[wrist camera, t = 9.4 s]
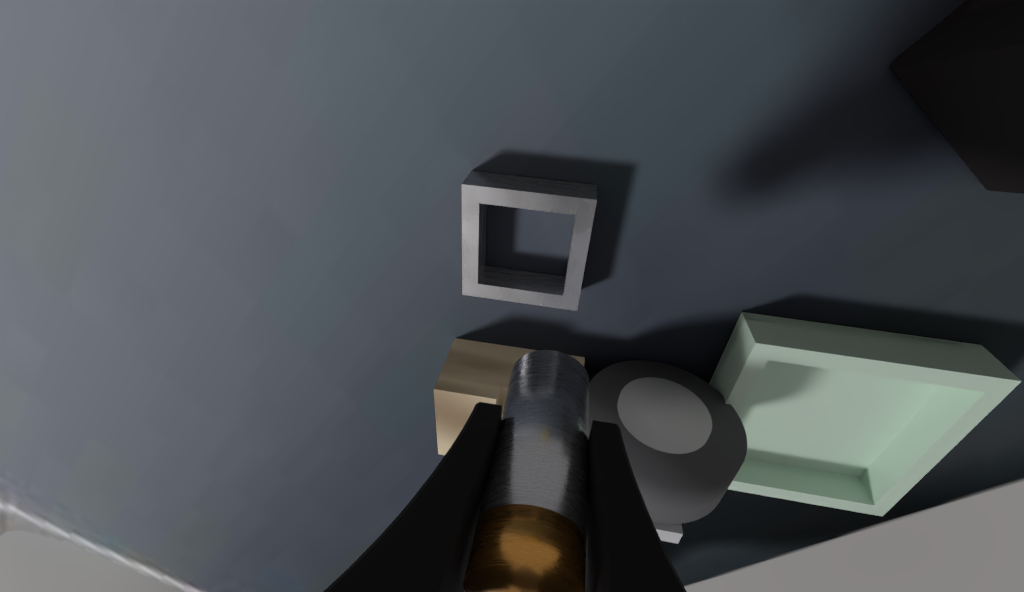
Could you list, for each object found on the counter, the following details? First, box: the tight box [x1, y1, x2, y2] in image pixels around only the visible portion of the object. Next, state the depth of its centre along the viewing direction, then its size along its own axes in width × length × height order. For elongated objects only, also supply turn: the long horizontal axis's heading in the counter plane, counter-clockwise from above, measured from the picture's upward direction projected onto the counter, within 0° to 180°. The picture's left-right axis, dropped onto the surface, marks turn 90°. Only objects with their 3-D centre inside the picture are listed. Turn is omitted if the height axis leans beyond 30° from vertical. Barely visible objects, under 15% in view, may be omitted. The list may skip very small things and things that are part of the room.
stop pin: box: [463, 350, 589, 592], centre depth 11 cm, size 2×2×6 cm
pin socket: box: [462, 171, 597, 311], centre depth 19 cm, size 5×5×2 cm
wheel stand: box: [588, 360, 747, 544], centre depth 21 cm, size 5×7×7 cm
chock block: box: [434, 338, 585, 455], centre depth 23 cm, size 5×7×4 cm
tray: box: [709, 312, 1021, 517], centre depth 21 cm, size 10×10×2 cm
